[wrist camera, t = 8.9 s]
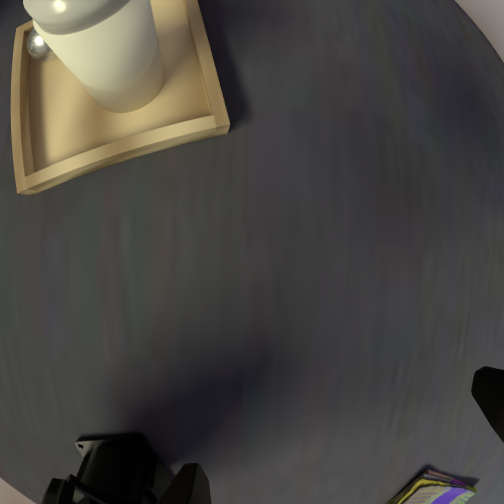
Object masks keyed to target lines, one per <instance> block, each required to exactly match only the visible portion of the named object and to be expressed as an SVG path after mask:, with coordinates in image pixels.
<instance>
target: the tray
mask: <svg viewBox="0 0 504 504" xmlns="http://www.w3.org/2000/svg"><path fill="white" fill-rule="evenodd" d="M150 2H151V7H152V12H153V17H154V22H155V27H156V32H157V37H158V42H159V46H160V51H161V56H162V60H163V65H164V69H165V79H164V83H163V86H162V88H161V90H160V92H159V93H158V95H157V96H156V97H155V98H154V99H153V100H152V101H151V102H150V103H149V104H147V105H146V106H144V107H143V108H141V109H139V110H136V111H133V112H129V113H123V114H121V113H112V112H109V111H107V110H105V109H103V108H102V107H101V106H100V105H99V104H98V103H97V102H96V101H95V100H94V99H93V97H92V96H91V95H90V94H89V93H88V92H87V90H86V89H85V88H84V87H83V86H82V85H81V83H80V82H79V81H78V80H77V79H76V78H75V76H74V75H73V74H72V73H71V72H70V71H69V69H68V68H67V67H66V66H65V65H64V63H63V62H62V61H61V60H60V59H59V58H58V59H56V60H54V61H50V62H41V61H37V60H35V59H34V58H33V57H32V56H31V55H30V54H29V52H28V48H27V40H28V36H29V34H30V32H31V30H32V28H33V27H34V25H33V20H31V21H29V22H27V23H25V24H24V25H22V26H20V27H18V28H16V35H15V43H14V53H13V64H12V80H11V132H12V149H13V161H14V171H15V179H16V187H17V193H18V194H26V195H34V194H36V193H39V192H41V191H43V190H46V189H48V188H51V187H53V186H56V185H58V184H61V183H63V182H66V181H68V180H71V179H74V178H76V177H79V176H82V175H85V174H87V173H90V172H93V171H96V170H99V169H102V168H104V167H107V166H110V165H113V164H117V163H120V162H123V161H126V160H129V159H132V158H136V157H139V156H142V155H146V154H149V153H152V152H156V151H159V150H163V149H167V148H170V147H174V146H178V145H182V144H186V143H190V142H194V141H198V140H202V139H206V138H210V137H215V136H219V135H224V134H227V133H228V130H229V127H230V122H229V118H228V114H227V110H226V106H225V103H224V99H223V95H222V91H221V87H220V83H219V80H218V76H217V72H216V68H215V64H214V61H213V57H212V53H211V49H210V45H209V42H208V38H207V34H206V30H205V27H204V23H203V19H202V15H201V12H200V8H199V4H198V1H197V0H150Z"/></svg>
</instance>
